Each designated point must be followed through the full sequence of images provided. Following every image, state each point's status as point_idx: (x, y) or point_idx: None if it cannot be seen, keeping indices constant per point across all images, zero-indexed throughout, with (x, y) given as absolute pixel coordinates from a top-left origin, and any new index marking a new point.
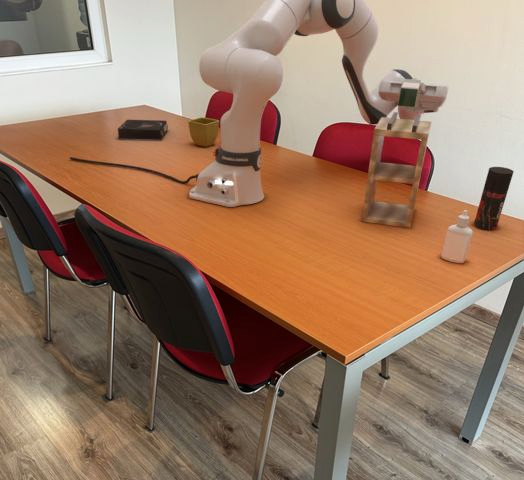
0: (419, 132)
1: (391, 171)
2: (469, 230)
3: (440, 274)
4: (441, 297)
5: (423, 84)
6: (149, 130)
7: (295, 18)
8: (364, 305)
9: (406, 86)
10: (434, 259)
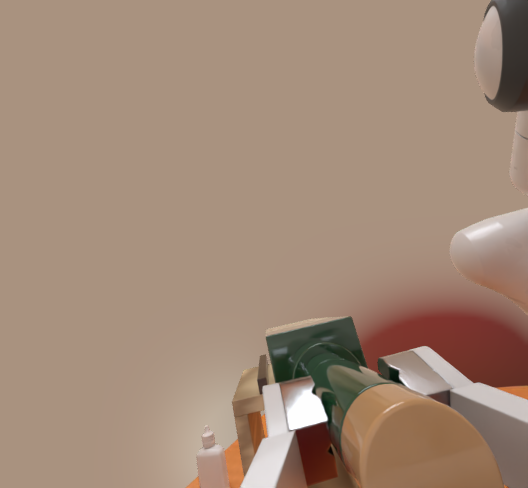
0: (256, 367)
1: None
2: (202, 447)
3: (234, 464)
4: (236, 441)
5: (256, 471)
6: None
7: (523, 138)
8: None
9: (301, 321)
10: (237, 485)
